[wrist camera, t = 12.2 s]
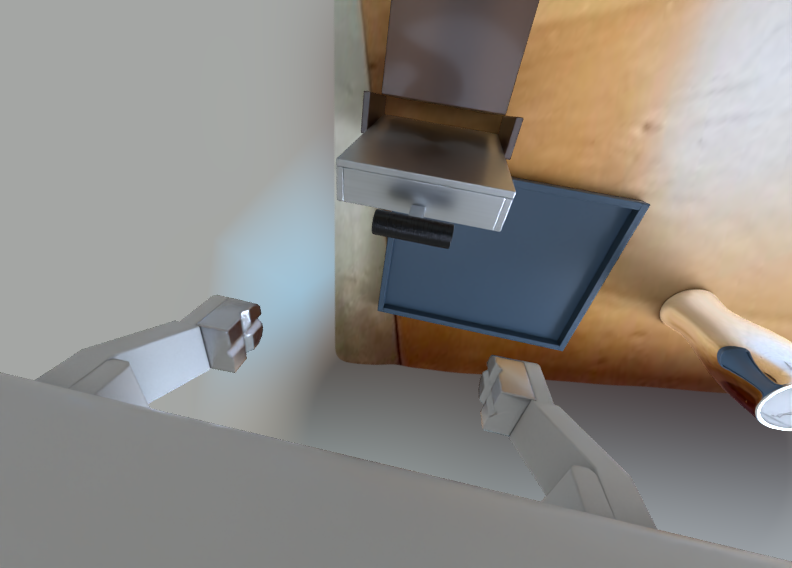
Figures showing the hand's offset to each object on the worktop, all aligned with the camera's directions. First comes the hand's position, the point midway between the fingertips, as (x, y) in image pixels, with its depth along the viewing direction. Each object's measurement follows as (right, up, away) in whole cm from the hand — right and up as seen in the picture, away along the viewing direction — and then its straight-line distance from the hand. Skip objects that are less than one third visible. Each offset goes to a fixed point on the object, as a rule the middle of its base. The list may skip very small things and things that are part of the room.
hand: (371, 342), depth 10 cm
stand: (+6, +23, +20) cm, 31 cm away
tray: (+13, +5, +29) cm, 32 cm away
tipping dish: (+4, +13, +13) cm, 19 cm away
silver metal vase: (+39, -1, +28) cm, 48 cm away
